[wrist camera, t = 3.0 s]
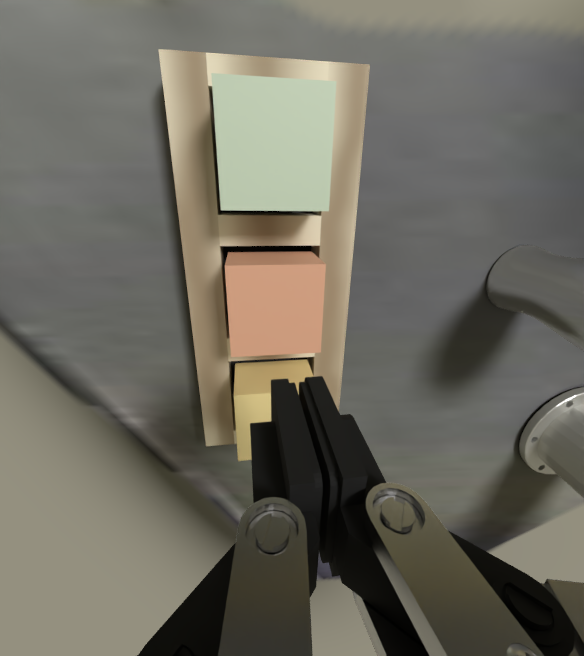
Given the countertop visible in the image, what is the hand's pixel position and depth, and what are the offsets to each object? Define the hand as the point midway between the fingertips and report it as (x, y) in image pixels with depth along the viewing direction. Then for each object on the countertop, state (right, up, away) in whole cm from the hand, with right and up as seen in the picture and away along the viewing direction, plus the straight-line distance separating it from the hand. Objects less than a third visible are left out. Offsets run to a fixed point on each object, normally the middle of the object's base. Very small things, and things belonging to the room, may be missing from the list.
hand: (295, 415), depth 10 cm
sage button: (-2, +14, +10) cm, 17 cm away
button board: (-2, +7, +16) cm, 17 cm away
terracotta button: (-2, +6, +14) cm, 15 cm away
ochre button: (-2, -3, +17) cm, 17 cm away
